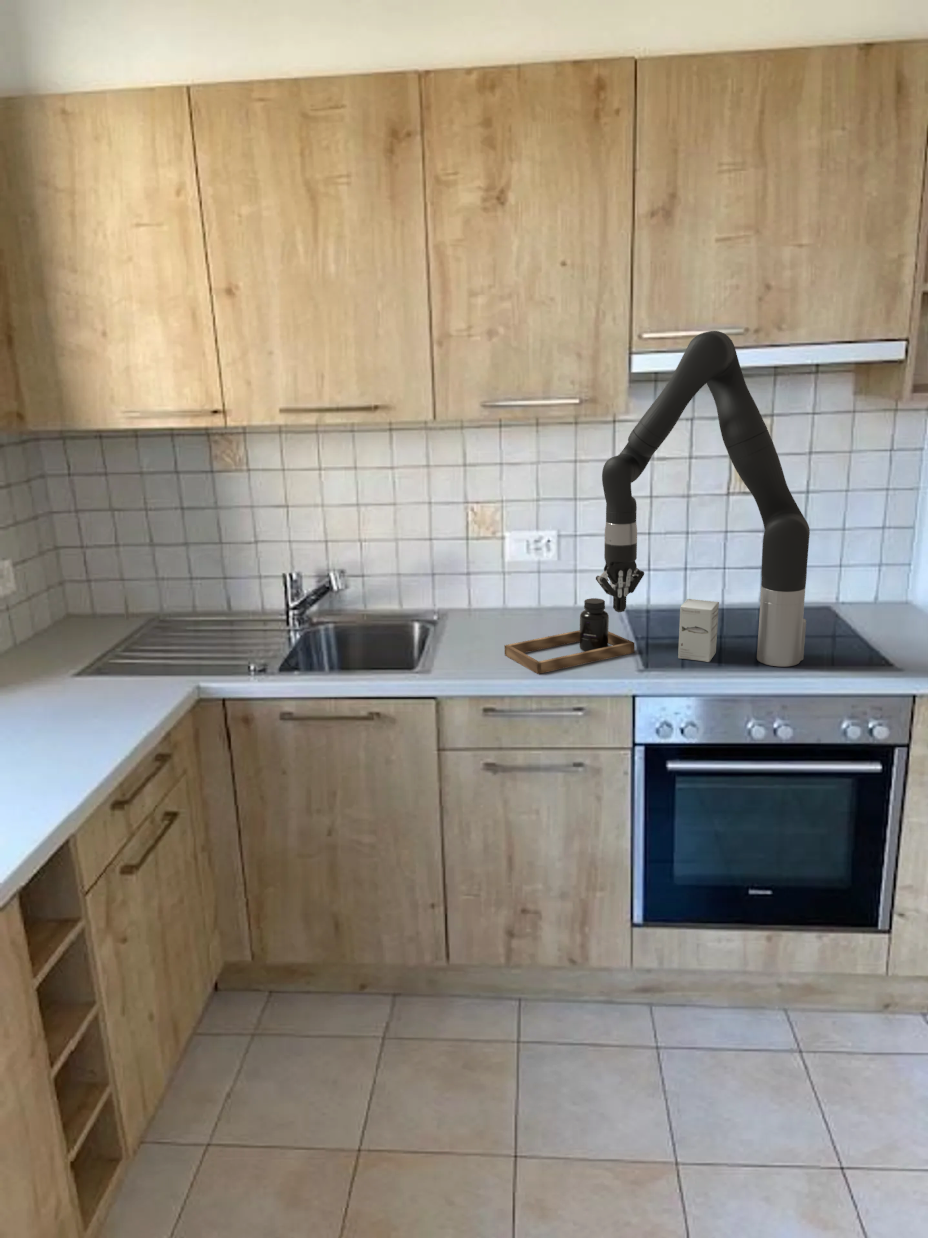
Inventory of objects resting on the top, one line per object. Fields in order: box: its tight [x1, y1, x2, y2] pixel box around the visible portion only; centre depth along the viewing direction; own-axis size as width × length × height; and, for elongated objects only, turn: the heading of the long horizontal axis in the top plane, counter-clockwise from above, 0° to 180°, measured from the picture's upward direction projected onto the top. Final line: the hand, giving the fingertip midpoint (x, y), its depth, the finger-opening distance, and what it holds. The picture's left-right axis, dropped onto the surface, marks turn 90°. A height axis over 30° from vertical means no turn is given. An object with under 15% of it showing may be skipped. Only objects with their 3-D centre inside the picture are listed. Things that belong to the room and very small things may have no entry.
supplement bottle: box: [578, 597, 610, 652], centre depth 214 cm, size 7×7×12 cm
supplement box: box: [677, 598, 720, 663], centre depth 206 cm, size 7×7×13 cm
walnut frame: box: [504, 629, 635, 675], centre depth 212 cm, size 26×15×2 cm, turn 117°
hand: (619, 611), depth 216 cm, fingers closed
